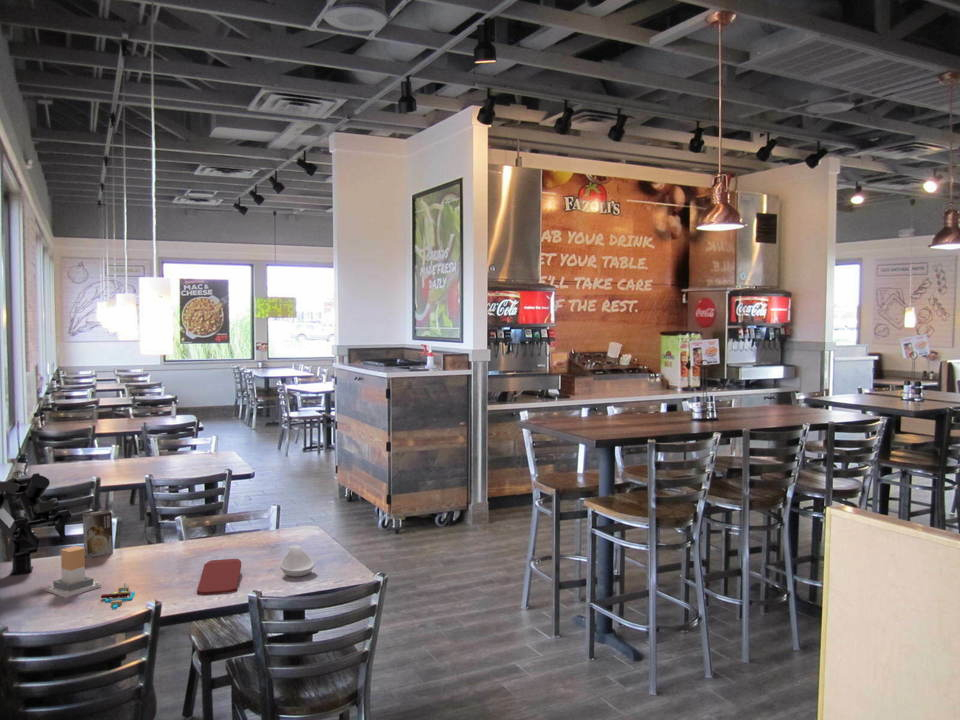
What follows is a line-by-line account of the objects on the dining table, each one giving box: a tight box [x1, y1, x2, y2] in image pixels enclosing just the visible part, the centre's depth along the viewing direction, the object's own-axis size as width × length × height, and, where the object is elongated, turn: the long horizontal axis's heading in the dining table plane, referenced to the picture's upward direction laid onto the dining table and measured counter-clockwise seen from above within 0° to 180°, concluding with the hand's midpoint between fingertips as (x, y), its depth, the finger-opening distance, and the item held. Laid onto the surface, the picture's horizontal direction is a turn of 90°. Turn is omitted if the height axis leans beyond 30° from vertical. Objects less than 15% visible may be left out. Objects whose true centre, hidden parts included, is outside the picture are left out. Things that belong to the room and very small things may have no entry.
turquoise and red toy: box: [100, 581, 136, 610], centre depth 238 cm, size 20×5×9 cm
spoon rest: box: [280, 544, 315, 578], centre depth 267 cm, size 24×12×7 cm, turn 20°
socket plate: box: [44, 575, 102, 598], centre depth 246 cm, size 12×12×3 cm
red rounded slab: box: [196, 558, 242, 596], centre depth 254 cm, size 12×5×26 cm
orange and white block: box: [60, 545, 86, 585], centre depth 246 cm, size 5×5×12 cm
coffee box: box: [82, 509, 114, 558], centre depth 285 cm, size 9×6×16 cm
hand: (50, 542), depth 253 cm, fingers open, 9 cm apart
